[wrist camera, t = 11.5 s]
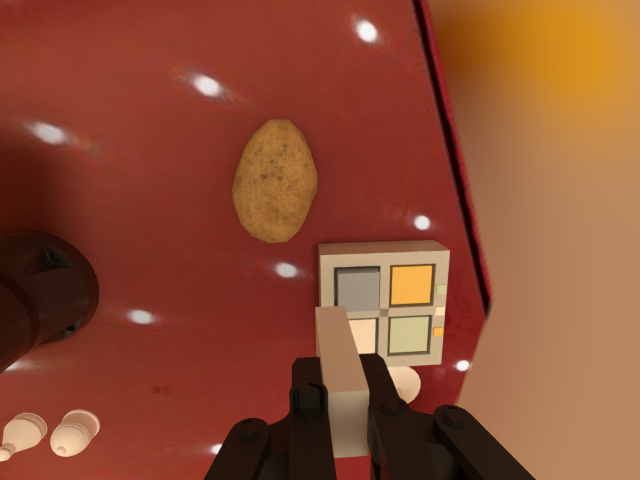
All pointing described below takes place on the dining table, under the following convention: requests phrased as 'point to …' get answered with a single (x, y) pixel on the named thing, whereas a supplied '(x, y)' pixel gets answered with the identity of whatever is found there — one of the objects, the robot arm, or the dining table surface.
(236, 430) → the robot arm
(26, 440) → the container set
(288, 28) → the dining table surface
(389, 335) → the key sage
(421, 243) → the keypad
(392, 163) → the dining table surface
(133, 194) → the dining table surface
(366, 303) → the key slate
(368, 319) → the key ivory
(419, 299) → the key amber
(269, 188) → the potato
